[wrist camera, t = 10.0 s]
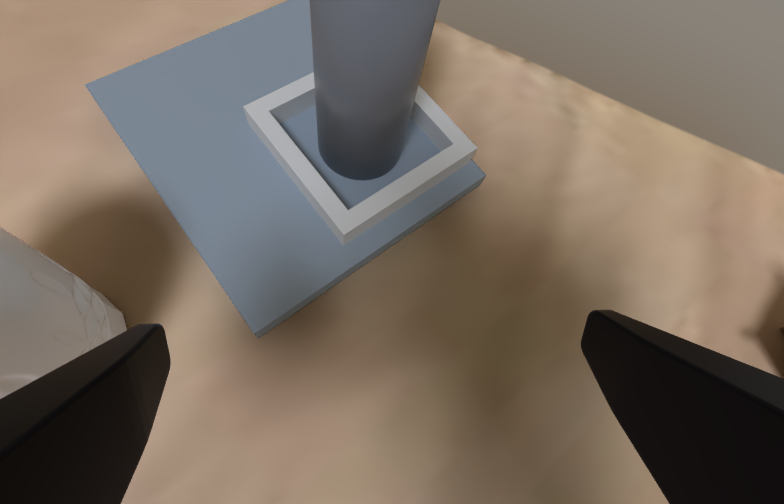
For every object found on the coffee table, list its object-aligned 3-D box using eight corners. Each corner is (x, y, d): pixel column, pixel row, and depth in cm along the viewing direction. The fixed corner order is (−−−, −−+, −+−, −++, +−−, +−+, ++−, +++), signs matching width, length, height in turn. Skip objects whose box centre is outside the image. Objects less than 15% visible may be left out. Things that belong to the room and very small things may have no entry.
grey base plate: (479, 185, 27) (494, 161, 24) (258, 337, 22) (248, 328, 19) (316, 4, 30) (314, -32, 28) (95, 99, 25) (69, 64, 23)
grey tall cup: (405, 182, 25) (474, -39, 13) (315, 181, 24) (297, -56, 12) (400, 109, 26) (455, -145, 14) (316, 105, 26) (301, -165, 14)
